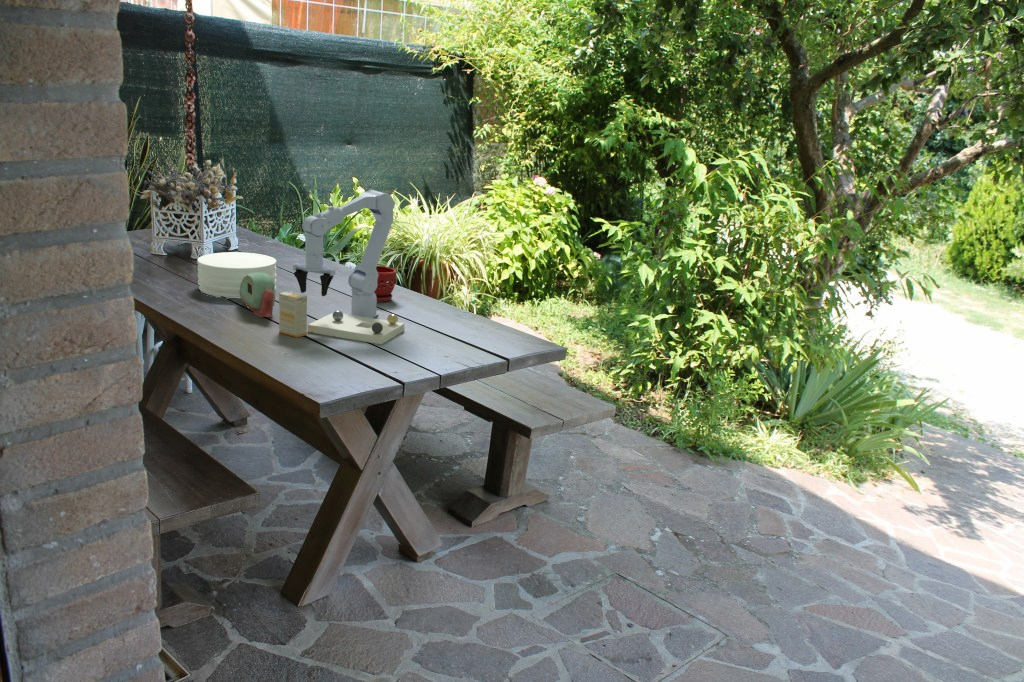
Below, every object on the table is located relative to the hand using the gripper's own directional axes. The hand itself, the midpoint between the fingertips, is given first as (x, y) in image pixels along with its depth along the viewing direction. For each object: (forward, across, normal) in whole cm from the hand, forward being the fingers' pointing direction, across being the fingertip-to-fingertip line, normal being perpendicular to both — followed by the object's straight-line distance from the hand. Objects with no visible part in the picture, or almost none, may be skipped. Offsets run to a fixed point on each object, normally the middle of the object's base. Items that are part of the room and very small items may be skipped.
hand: (313, 293), depth 285 cm
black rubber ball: (+6, +26, -6) cm, 27 cm away
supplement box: (+11, 0, -13) cm, 17 cm away
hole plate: (+10, +16, 0) cm, 19 cm away
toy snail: (+11, -23, +4) cm, 26 cm away
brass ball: (+6, +26, +6) cm, 27 cm away
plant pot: (+11, +4, +42) cm, 44 cm away
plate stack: (+11, -46, +26) cm, 54 cm away
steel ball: (+6, +9, 0) cm, 11 cm away
